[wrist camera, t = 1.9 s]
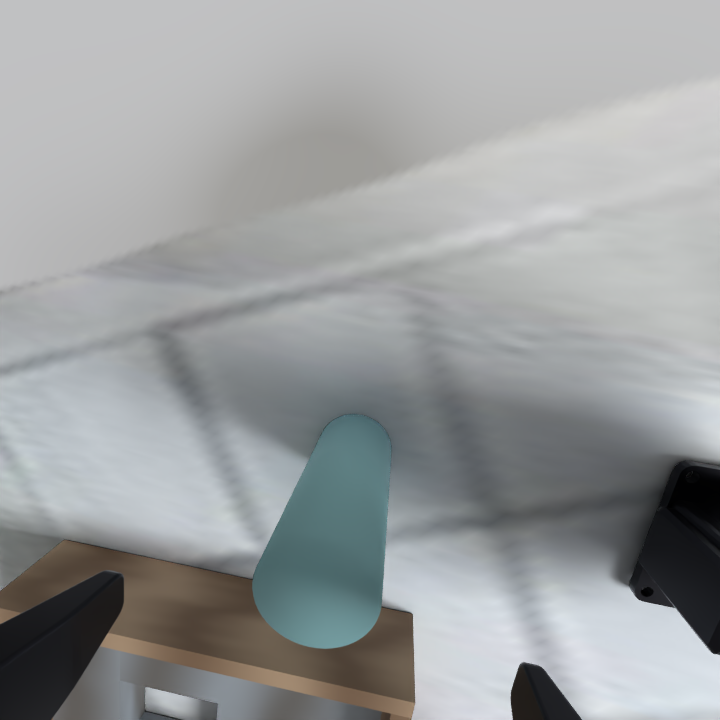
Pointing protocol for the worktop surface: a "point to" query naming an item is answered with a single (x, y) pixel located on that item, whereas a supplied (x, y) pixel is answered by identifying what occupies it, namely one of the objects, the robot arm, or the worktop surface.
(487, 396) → the worktop surface
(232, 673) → the insert box
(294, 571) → the peg
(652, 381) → the worktop surface
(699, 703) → the worktop surface
